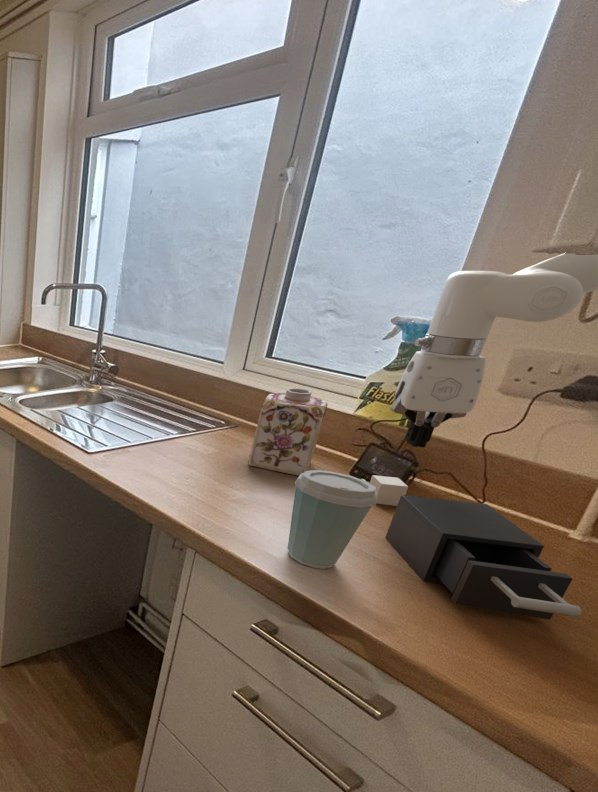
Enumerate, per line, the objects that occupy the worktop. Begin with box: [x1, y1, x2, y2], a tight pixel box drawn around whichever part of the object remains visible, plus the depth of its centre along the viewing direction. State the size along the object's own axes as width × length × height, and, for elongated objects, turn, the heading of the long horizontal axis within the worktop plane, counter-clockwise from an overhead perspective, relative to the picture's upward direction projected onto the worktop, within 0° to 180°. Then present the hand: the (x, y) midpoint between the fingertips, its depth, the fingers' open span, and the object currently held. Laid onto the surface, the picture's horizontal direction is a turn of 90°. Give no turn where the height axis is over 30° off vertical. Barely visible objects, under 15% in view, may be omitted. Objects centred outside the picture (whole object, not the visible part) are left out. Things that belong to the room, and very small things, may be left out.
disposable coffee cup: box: [287, 469, 378, 570], centre depth 85 cm, size 11×11×15 cm
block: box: [369, 474, 409, 507], centre depth 106 cm, size 4×4×4 cm
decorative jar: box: [247, 387, 329, 477], centre depth 121 cm, size 12×12×18 cm
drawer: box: [433, 538, 582, 620], centre depth 75 cm, size 19×10×7 cm, turn 161°
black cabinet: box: [385, 495, 545, 585], centre depth 84 cm, size 14×12×9 cm
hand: (415, 444), depth 98 cm, fingers closed
